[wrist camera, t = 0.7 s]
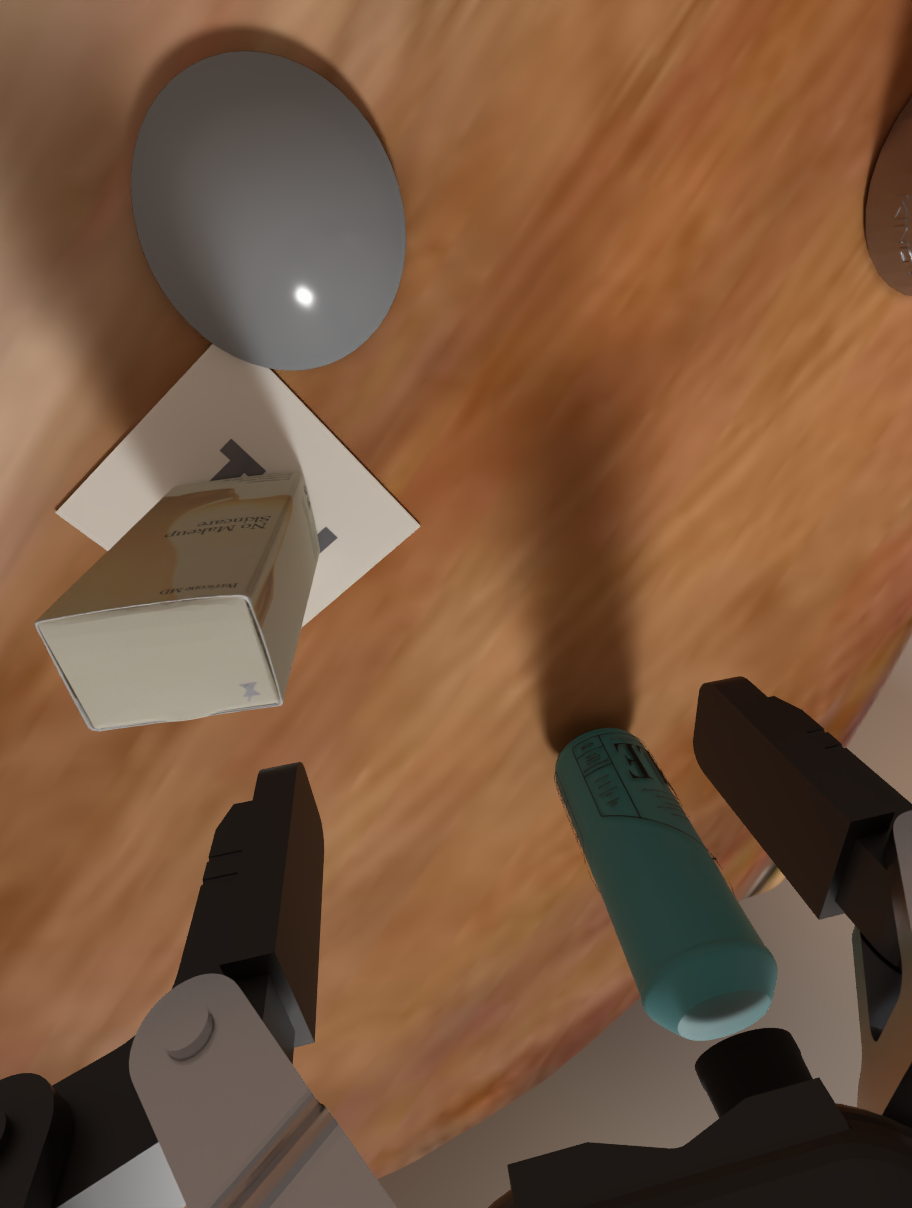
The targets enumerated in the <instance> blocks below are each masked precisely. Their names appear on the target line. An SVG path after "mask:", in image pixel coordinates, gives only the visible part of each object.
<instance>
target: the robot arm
mask: <svg viewBox="0 0 912 1208" xmlns="http://www.w3.org/2000/svg"><path fill="white" fill-rule="evenodd" d="M866 239H867V244H868V249H869V254H870V257H871V259H872V262H873V264H874V266H875V268H876V270H877V272H878V274H879V275H880V276H881V277H882V278H883V279H884V281H885V282H886V283H887V284H888V285H889V286H890V287H892V288H894V289H895V290H897V291H899V292H901V293H903V294H904V295H909V296H912V97H911V99H910V100H909V102H908V103H907V105H906V106H905V108H904V109H903V111H902V112H901V114H900V115H899V117H898V118H897V120H896V121H895V123H894V125H893V127H892V129H891V131H890V133H889V135H888V137H887V139H886V141H885V144H884V146H883V148H882V150H881V152H880V155H879V158H878V161H877V164H876V167H875V170H874V173H873V176H872V179H871V182H870V188H869V194H868V199H867V205H866ZM693 747H694V753H695V756H696V759H697V762H698V764H699V766H700V768H701V770H702V771H703V773H704V774H705V775H706V776H707V778H708V779H709V780H710V782H711V783H712V784H713V785H714V787H715V788H716V789H717V790H718V792H719V793H720V794H721V796H722V797H723V798H724V799H725V801H726V802H727V803H728V804H729V806H730V807H731V808H732V810H733V811H734V812H735V813H736V815H737V816H738V817H739V818H740V820H741V821H742V822H743V824H744V825H745V826H746V827H747V829H748V830H749V831H750V833H751V834H752V835H753V836H754V838H755V839H756V840H757V841H758V843H759V844H760V845H761V847H762V848H763V849H764V850H765V852H766V853H767V854H768V855H769V857H770V858H771V859H772V861H773V862H774V863H775V864H776V866H777V867H778V868H779V869H780V871H781V872H782V873H783V875H784V876H785V877H786V878H787V880H788V881H789V882H790V883H791V885H792V886H793V887H794V889H795V890H796V891H797V892H798V894H799V895H800V896H801V897H802V899H803V900H804V901H805V903H806V904H807V905H808V906H809V908H810V909H811V910H812V911H813V913H814V914H815V915H816V917H817V918H818V919H819V920H820V919H824V918H827V917H832V916H835V915H840V914H843V913H845V914H846V915H847V916H848V917H849V918H850V920H851V921H852V922H853V923H854V924H855V927H854V930H853V933H852V944H853V955H854V966H855V977H856V988H857V999H858V1010H859V1021H860V1032H861V1043H862V1065H861V1073H860V1079H859V1086H858V1100H857V1107H852V1106H847V1105H843V1104H835V1102H834V1101H833V1099H832V1097H831V1096H830V1094H829V1093H828V1091H827V1089H826V1088H825V1086H824V1085H823V1083H822V1081H821V1080H820V1078H815V1079H812V1080H808V1081H805V1082H801V1083H798V1084H794V1085H790V1086H787V1087H783V1088H780V1089H776V1090H773V1091H769V1092H765V1093H762V1094H758V1095H755V1096H751V1097H748V1098H745V1099H744V1100H743V1101H741V1102H740V1103H739V1104H737V1105H736V1106H735V1107H734V1108H732V1109H731V1110H730V1111H728V1112H727V1113H726V1114H725V1115H723V1116H722V1117H721V1118H719V1119H718V1120H717V1121H716V1122H714V1123H713V1124H712V1125H710V1126H709V1127H708V1128H707V1129H706V1130H704V1131H703V1132H701V1133H700V1134H699V1135H698V1136H696V1137H695V1138H694V1139H692V1140H691V1141H690V1142H689V1143H687V1144H686V1145H684V1146H682V1147H679V1148H674V1149H668V1148H655V1147H641V1146H628V1145H616V1144H603V1143H589V1142H587V1143H583V1144H580V1145H576V1146H573V1147H569V1148H566V1149H562V1150H558V1151H555V1152H551V1153H548V1154H544V1155H541V1156H537V1157H533V1158H530V1159H527V1160H523V1161H519V1162H516V1163H512V1164H509V1165H507V1166H508V1172H509V1179H510V1185H511V1190H509V1191H508V1192H507V1193H506V1194H504V1195H503V1196H501V1197H500V1198H499V1199H497V1200H496V1201H495V1202H493V1204H491V1205H490V1207H488V1208H912V804H911V803H910V802H909V801H908V800H906V799H905V798H904V797H903V796H902V795H901V794H899V793H898V792H897V791H896V790H895V789H894V788H892V787H891V786H890V785H889V784H888V783H887V782H885V781H884V780H883V779H882V778H881V777H880V776H878V775H877V774H876V773H875V772H874V771H872V770H871V769H870V768H869V767H868V766H867V765H866V764H864V763H863V762H862V761H861V760H860V759H859V758H857V757H856V756H855V755H854V754H853V753H852V752H850V751H849V750H848V749H847V748H843V747H842V744H841V743H840V742H839V741H838V740H836V739H835V738H834V737H833V736H832V735H831V734H829V733H828V732H827V733H825V732H824V728H822V727H821V726H820V725H819V724H818V723H817V722H815V721H814V720H813V719H812V718H811V717H810V716H808V715H807V714H806V713H805V712H804V711H803V710H801V709H799V708H797V707H795V706H793V705H791V704H789V703H787V702H785V701H783V700H781V699H779V698H777V697H775V696H772V697H767V696H766V695H765V694H763V693H762V692H761V691H760V690H759V689H758V688H757V687H756V686H755V685H753V684H752V683H751V682H750V681H749V680H748V679H746V678H744V677H734V678H729V679H723V680H718V681H713V682H708V683H704V684H703V685H702V686H701V688H700V690H699V697H698V705H697V713H696V721H695V729H694V737H693ZM323 863H324V838H323V829H322V823H321V819H320V815H319V812H318V809H317V806H316V803H315V799H314V796H313V793H312V790H311V787H310V784H309V780H308V777H307V774H306V771H305V768H304V766H303V764H302V763H301V762H297V763H292V764H287V765H282V766H277V767H272V768H267V769H262V770H260V772H259V774H258V777H257V782H256V787H255V791H254V796H253V801H248V802H243V803H238V804H234V805H233V806H232V807H231V809H230V810H229V812H228V813H227V815H226V816H225V817H224V819H223V820H222V822H221V823H220V825H219V826H218V827H217V829H216V831H215V835H214V839H213V842H212V846H211V850H210V854H209V862H207V865H206V869H205V872H204V876H203V885H201V887H200V891H199V895H198V899H197V903H196V906H195V910H194V914H193V918H192V921H191V925H190V929H189V933H188V936H187V940H186V944H185V948H184V951H183V955H182V959H181V963H180V967H179V970H178V974H177V977H176V980H175V983H174V985H173V987H172V989H171V990H170V991H169V992H168V993H167V994H166V995H164V996H163V997H162V998H161V999H160V1000H159V1001H158V1002H157V1003H156V1004H155V1006H154V1007H153V1008H152V1009H151V1010H150V1012H149V1013H148V1014H147V1016H146V1017H145V1019H144V1020H143V1022H142V1024H141V1025H140V1027H139V1029H138V1031H137V1033H136V1035H135V1036H134V1037H133V1038H131V1039H130V1040H129V1041H127V1042H126V1043H125V1044H123V1045H122V1046H120V1047H119V1048H117V1049H115V1050H114V1051H112V1052H110V1053H109V1054H107V1055H105V1056H103V1057H102V1058H100V1059H98V1060H96V1061H95V1062H93V1063H91V1064H89V1065H88V1066H86V1067H84V1068H82V1069H81V1070H79V1071H77V1072H75V1073H74V1074H72V1075H70V1076H68V1077H67V1078H65V1079H63V1080H61V1081H60V1082H58V1083H56V1084H54V1085H53V1086H51V1084H50V1083H49V1082H48V1081H47V1080H46V1079H44V1078H43V1077H41V1076H40V1075H37V1074H33V1073H21V1074H17V1075H12V1076H9V1077H7V1078H4V1079H2V1080H0V1208H183V1207H185V1206H186V1205H187V1208H396V1206H395V1205H394V1203H393V1202H392V1201H391V1199H390V1197H389V1196H388V1195H387V1193H386V1192H385V1191H384V1189H383V1187H382V1186H381V1184H380V1183H379V1182H378V1180H377V1179H376V1177H375V1176H374V1174H373V1173H372V1171H371V1170H370V1169H369V1167H368V1166H367V1164H366V1163H365V1161H364V1160H363V1159H362V1157H361V1156H360V1154H359V1153H358V1151H357V1150H356V1148H355V1147H354V1146H353V1144H352V1143H351V1141H350V1140H349V1138H348V1137H347V1135H346V1134H345V1133H344V1131H343V1130H342V1128H341V1127H340V1125H339V1124H338V1123H337V1121H336V1120H335V1119H334V1117H333V1116H332V1115H331V1113H330V1112H329V1111H328V1110H327V1108H326V1107H325V1106H324V1105H323V1104H320V1103H319V1102H318V1100H317V1099H316V1098H315V1097H314V1095H313V1094H312V1092H311V1091H310V1089H309V1088H308V1087H307V1085H306V1084H305V1082H304V1081H303V1079H302V1078H301V1076H300V1075H299V1073H298V1072H297V1071H296V1069H295V1068H294V1066H293V1065H292V1064H293V1051H294V1047H298V1046H302V1045H306V1044H310V1043H314V1042H315V1023H316V1003H317V983H318V963H319V943H320V923H321V903H322V883H323Z"/></svg>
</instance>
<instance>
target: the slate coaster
mask: <svg viewBox="0 0 912 1208" xmlns="http://www.w3.org/2000/svg"><path fill="white" fill-rule="evenodd" d="M131 197H132V207H133V215H134V220H135V224H136V229H137V234H138V237H139V240H140V243H141V246H142V249H143V252H144V255H145V257H146V259H147V262H148V264H149V266H150V268H151V271H152V273H153V275H154V277H155V278H156V280H157V282H158V283H159V285H160V287H161V289H162V290H163V292H164V294H165V295H166V296H167V298H168V299H169V300H170V302H171V303H172V305H173V306H174V307H175V309H176V310H177V311H178V312H179V313H180V314H181V315H182V317H183V318H184V319H185V320H186V321H187V322H188V323H189V324H190V325H191V326H192V327H193V328H194V329H195V330H196V331H198V332H199V333H200V334H201V335H202V336H203V337H204V338H206V339H207V340H208V341H210V342H211V343H213V344H214V345H215V346H217V347H218V348H220V349H222V350H223V351H225V352H227V353H229V354H230V355H232V356H234V357H236V358H239V359H241V360H244V361H246V362H248V363H251V364H254V365H258V366H262V367H265V368H271V369H278V370H305V369H313V368H317V367H320V366H324V365H328V364H330V363H332V362H335V361H337V360H339V359H341V358H343V357H345V356H346V355H348V354H350V353H351V352H353V351H354V350H356V349H357V348H358V347H359V346H360V345H362V344H363V343H364V342H365V341H366V340H367V339H368V338H369V337H370V336H371V335H372V334H373V333H374V331H375V330H376V329H377V328H378V327H379V325H380V324H381V322H382V321H383V319H384V318H385V316H386V315H387V313H388V311H389V309H390V307H391V304H392V302H393V300H394V298H395V295H396V292H397V289H398V287H399V284H400V280H401V275H402V270H403V266H404V258H405V247H406V232H405V218H404V210H403V203H402V199H401V195H400V190H399V186H398V182H397V180H396V177H395V174H394V171H393V168H392V165H391V163H390V161H389V158H388V156H387V154H386V152H385V150H384V148H383V146H382V144H381V142H380V140H379V139H378V137H377V135H376V134H375V132H374V131H373V129H372V127H371V126H370V124H369V123H368V121H367V120H366V119H365V118H364V116H363V115H362V114H361V112H360V111H359V110H358V109H357V107H356V106H355V105H354V104H353V103H352V102H351V101H350V100H349V99H348V98H347V97H346V96H345V95H344V94H343V93H342V92H341V91H340V90H339V89H337V88H336V87H335V86H334V85H332V84H331V83H330V82H329V81H327V80H326V79H325V78H324V77H322V76H320V75H319V74H317V73H315V72H314V71H312V70H310V69H309V68H307V67H305V66H304V65H301V64H299V63H296V62H294V61H292V60H289V59H287V58H284V57H280V56H276V55H272V54H268V53H264V52H252V51H238V52H227V53H222V54H218V55H215V56H211V57H208V58H205V59H203V60H201V61H199V62H197V63H195V64H193V65H191V66H189V67H187V68H186V69H185V70H183V71H182V72H181V73H179V74H178V75H177V76H175V77H174V78H173V79H172V80H171V81H170V82H169V83H168V84H167V85H166V86H165V87H164V89H163V90H162V91H161V92H160V93H159V94H158V96H157V97H156V99H155V100H154V102H153V104H152V105H151V107H150V108H149V110H148V112H147V114H146V116H145V119H144V121H143V123H142V125H141V127H140V130H139V134H138V137H137V141H136V144H135V148H134V154H133V161H132V168H131Z"/></svg>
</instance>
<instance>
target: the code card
mask: <svg viewBox="0 0 912 1208" xmlns="http://www.w3.org/2000/svg"><path fill="white" fill-rule="evenodd" d="M292 472H300V473H302V474H303V476H304V480H305V484H306V487H307V491H308V495H309V498H310V503H311V507H312V511H313V516H314V521H315V526H316V531H317V536H318V541H319V546H320V554H319V557H318V562H317V566H316V570H315V574H314V577H313V582H312V586H311V590H310V594H309V598H308V602H307V606H306V610H305V615H304V619H303V623H302V627H303V626H304V625H305V624H307V623H308V622H309V621H310V620H311V619H312V618H314V617H315V616H316V615H317V614H318V613H319V612H321V611H322V610H323V609H324V608H325V607H327V606H328V605H329V604H330V603H331V602H332V601H334V600H335V599H336V598H337V597H338V596H339V595H341V594H342V593H343V592H344V591H345V590H346V589H348V588H349V587H350V586H351V585H352V584H353V583H355V582H356V581H357V580H358V579H359V578H361V577H362V576H363V575H364V574H365V573H366V572H368V571H369V570H370V569H371V568H372V567H373V566H375V565H376V564H377V563H378V562H379V561H380V560H382V559H383V558H384V557H385V556H386V555H387V554H389V553H390V552H391V551H392V550H393V549H395V548H396V547H397V546H398V545H399V544H400V543H402V542H403V541H404V540H405V539H406V538H407V537H409V536H410V535H411V534H412V533H413V532H414V531H416V530H417V529H418V528H419V527H420V525H419V524H418V522H417V521H416V520H415V519H414V518H413V517H412V516H411V515H410V514H409V513H408V512H407V511H406V510H405V509H404V508H403V507H402V506H401V505H400V504H399V503H398V502H397V501H396V500H395V498H394V497H393V496H392V495H391V494H390V493H389V492H388V491H387V490H386V489H385V488H384V487H383V486H382V485H381V484H380V483H379V482H378V481H377V480H376V479H375V478H374V477H373V476H372V475H371V473H370V472H369V471H368V470H367V469H366V468H365V467H364V466H363V465H362V464H361V463H360V462H359V461H358V460H357V459H356V458H355V457H354V456H353V455H352V454H351V453H350V452H349V451H348V450H347V448H346V447H345V446H344V445H343V444H342V443H341V442H340V441H339V440H338V439H337V438H336V437H335V436H334V435H333V434H332V433H331V432H330V431H329V430H328V429H327V428H326V427H325V426H324V424H323V423H322V422H321V421H320V420H319V419H318V418H317V417H316V416H315V415H314V414H313V413H312V412H311V411H310V410H309V409H308V408H307V407H306V406H305V405H304V404H303V403H302V402H301V401H300V399H299V398H298V397H297V396H296V395H295V394H294V393H293V392H292V391H291V390H290V389H289V388H288V387H287V386H286V385H285V384H284V383H283V382H282V381H281V380H280V379H279V378H278V377H277V375H276V374H275V373H274V372H273V371H272V370H271V369H270V368H265V367H262V366H258V365H254V364H251V363H248V362H246V361H244V360H241V359H239V358H236V357H234V356H232V355H230V354H229V353H227V352H225V351H223V350H222V349H220V348H218V347H217V346H215V345H214V344H212V345H211V346H210V347H209V348H208V349H207V350H206V351H205V353H204V354H203V355H202V356H201V357H200V358H199V359H198V360H197V361H196V362H195V363H194V364H193V365H192V367H191V368H190V369H189V370H188V371H187V372H186V373H185V374H184V375H183V376H182V377H181V378H180V379H179V380H178V382H177V383H176V384H175V385H174V386H173V387H172V388H171V389H170V390H169V391H168V392H167V393H166V394H165V396H164V397H163V398H162V399H161V400H160V401H159V402H158V403H157V404H156V405H155V406H154V407H153V408H152V409H151V411H150V412H149V413H148V414H147V415H146V416H145V417H144V418H143V419H142V420H141V421H140V422H139V423H138V425H137V426H136V427H135V428H134V429H133V430H132V431H131V432H130V433H129V434H128V435H127V436H126V437H125V439H124V440H123V441H122V442H121V443H120V444H119V445H118V446H117V447H116V448H115V449H114V450H113V451H112V452H111V454H110V455H109V456H108V457H107V458H106V459H105V460H104V461H103V462H102V463H101V464H100V465H99V466H98V468H97V469H96V470H95V471H94V472H93V473H92V474H91V475H90V476H89V477H88V478H87V479H86V480H85V481H84V483H83V484H82V485H81V486H80V487H79V488H78V489H77V490H76V491H75V492H74V493H73V494H72V495H71V497H70V498H69V499H68V500H67V501H66V502H65V503H64V504H63V505H62V506H61V507H60V508H59V509H58V511H57V512H56V514H58V515H59V516H60V517H62V518H63V519H64V520H66V521H67V522H69V523H70V524H71V525H73V526H74V527H75V528H77V529H78V530H80V531H81V532H82V533H84V534H85V535H86V536H88V537H89V538H91V539H92V540H93V541H95V542H96V543H97V544H99V545H100V546H102V547H103V548H104V549H106V550H107V551H109V550H110V549H111V548H112V547H113V546H114V545H115V544H116V543H117V542H118V541H119V540H120V539H121V538H122V537H123V536H124V535H125V534H126V533H127V532H128V531H129V530H130V529H131V528H132V527H133V526H134V525H135V524H136V523H137V522H138V521H139V520H140V519H141V518H142V517H144V515H145V514H147V513H148V512H149V511H150V510H151V509H152V508H153V507H154V506H155V505H156V504H157V503H158V502H159V501H160V500H161V499H162V498H163V497H164V496H165V495H166V494H167V493H168V492H169V491H170V490H171V489H172V488H173V487H176V486H181V485H188V484H195V483H201V482H208V481H215V480H222V479H229V478H238V477H246V476H256V475H266V474H278V473H292ZM302 627H301V628H302Z"/></svg>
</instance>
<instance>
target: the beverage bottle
mask: <svg viewBox="0 0 912 1208" xmlns="http://www.w3.org/2000/svg"><path fill="white" fill-rule="evenodd" d="M639 740H640V739H639ZM639 740H638V739H637V737H635V736H633V735H632V734H631V733H629V732H627V731H625V730H622V729H618V728H601V729H596V730H592V731H589V732H587V733H584V734H582V735H580V736H578V737H577V738H575V739H574V740H572V741H571V742H570V743H569V744H568V745H567V746H566V747H565V748H564V749H563V750H562V752H561V753H560V755H559V756H558V759H557V762H556V767H555V773H556V774H555V775H556V781H557V782H556V787H557V785H558V787H559V789H558V788H557V790H560V793H561V796H560V798H561V797H562V800H561V801H564V803H565V805H566V808H567V810H568V813H569V815H570V818H571V821H572V823H573V826H574V827H573V828H575V831H576V833H577V840H578V838H579V841H580V844H581V845H580V847H581V846H582V849H583V852H584V854H585V856H586V859H587V861H588V864H589V867H590V869H591V872H592V874H593V877H594V879H595V881H596V883H597V886H598V888H599V890H600V891H599V892H600V893H601V895H602V898H603V900H604V903H605V905H606V908H607V910H608V913H609V916H610V918H611V921H612V923H613V926H614V928H615V931H616V934H617V936H618V939H619V941H620V944H621V946H622V949H623V952H624V954H625V957H626V959H627V962H628V964H629V967H630V970H631V972H632V975H633V977H634V980H635V982H636V985H637V988H638V990H639V993H640V995H641V1001H642V1005H643V1007H644V1010H645V1012H646V1013H647V1014H648V1016H649V1017H650V1018H651V1019H652V1020H654V1021H655V1022H657V1023H658V1024H659V1025H661V1026H662V1027H664V1028H666V1029H668V1030H670V1031H672V1032H674V1033H676V1034H678V1035H680V1036H682V1037H684V1038H686V1039H690V1040H695V1041H700V1040H701V1041H702V1040H711V1039H717V1038H720V1037H724V1036H728V1035H730V1034H733V1033H736V1032H738V1031H741V1030H743V1029H745V1028H747V1027H749V1026H750V1025H752V1024H753V1023H755V1022H756V1021H758V1020H759V1019H760V1018H761V1017H762V1016H763V1015H764V1014H765V1013H766V1012H767V1011H768V1008H769V1007H770V1004H771V1001H772V998H773V995H774V990H775V985H776V980H777V964H776V961H775V959H774V957H773V955H772V954H771V952H770V951H769V950H768V948H767V947H766V946H765V945H764V943H763V942H762V940H761V939H760V937H759V935H758V934H757V932H756V930H755V929H754V927H753V926H752V924H751V922H750V921H749V919H748V917H747V916H746V914H745V913H744V911H743V909H742V908H741V906H740V904H739V903H738V901H737V900H736V898H735V895H733V893H734V892H733V893H732V891H731V890H730V888H729V887H728V885H727V883H726V881H725V879H724V877H723V876H722V874H721V872H720V870H719V869H718V867H717V865H716V864H715V862H714V860H713V859H715V860H717V859H716V858H715V857H714V856H713V855H712V854H711V855H712V856H713V857H714V858H712V857H711V855H710V854H709V852H708V851H707V849H706V847H705V846H704V844H703V842H702V841H701V839H700V837H699V836H698V834H697V833H696V831H695V829H694V828H693V826H692V824H691V823H690V821H689V819H688V818H687V816H686V815H685V813H684V811H683V809H682V808H681V806H682V805H681V806H680V805H679V802H677V800H676V798H677V797H676V798H675V797H674V795H673V793H672V792H671V790H670V788H669V787H668V785H670V783H667V782H668V781H667V780H665V779H667V778H665V777H664V775H663V774H664V773H662V770H661V771H660V769H659V768H658V766H659V765H658V766H657V764H655V762H654V760H655V759H654V760H653V758H654V757H653V758H652V757H651V755H652V754H651V753H650V752H648V751H647V750H646V749H645V748H644V746H643V745H644V744H642V743H641V742H640V741H639ZM642 742H643V741H642ZM643 743H644V742H643ZM645 747H646V746H645ZM648 750H649V749H648ZM649 753H650V754H651V755H650V754H649ZM656 763H657V762H656ZM554 781H555V776H554ZM670 787H671V785H670ZM671 788H672V787H671ZM672 790H673V788H672ZM673 791H674V790H673ZM560 793H558V794H560ZM674 793H675V792H674ZM675 794H676V793H675ZM676 796H677V795H676ZM677 799H678V798H677ZM678 800H679V799H678ZM679 801H680V800H679ZM562 804H563V803H562ZM682 807H683V806H682ZM564 809H565V808H564ZM567 817H568V816H567ZM571 821H570V819H569V822H570V823H571ZM572 823H571V824H572ZM572 830H573V829H572ZM573 832H574V831H573ZM574 835H575V834H574ZM580 847H579V848H580ZM581 854H582V853H581ZM584 858H585V857H584ZM584 861H585V860H584ZM585 863H586V862H585ZM717 863H718V862H717ZM720 867H721V866H720ZM589 874H590V873H589ZM591 879H592V878H591ZM592 881H593V880H592ZM730 885H731V884H730ZM595 886H596V885H595ZM598 888H597V889H598ZM732 890H733V889H732ZM695 1070H696V1072H697V1075H698V1077H699V1079H700V1082H701V1084H702V1086H703V1088H704V1089H705V1091H706V1092H707V1094H708V1096H709V1098H710V1100H711V1102H712V1104H713V1106H714V1108H715V1110H716V1112H717V1114H718V1117H719V1118H721V1117H722V1116H723V1115H725V1114H726V1113H727V1112H728V1111H730V1110H731V1109H732V1108H734V1107H735V1106H736V1105H737V1104H739V1103H740V1102H741V1101H743V1100H744V1099H745V1098H748V1097H751V1096H755V1095H758V1094H762V1093H765V1092H769V1091H773V1090H776V1089H780V1088H783V1087H787V1086H790V1085H794V1084H798V1083H801V1082H805V1081H808V1080H812V1077H811V1075H810V1073H809V1070H808V1068H807V1066H806V1065H805V1062H804V1060H803V1058H802V1056H801V1052H800V1050H799V1048H798V1046H797V1044H796V1042H795V1040H794V1039H793V1037H792V1035H791V1034H790V1033H789V1032H788V1031H786V1030H783V1029H779V1028H762V1029H755V1030H751V1031H747V1032H743V1033H740V1034H737V1035H734V1036H732V1037H729V1038H727V1039H725V1040H723V1041H721V1042H719V1043H717V1044H716V1045H713V1046H712V1047H711V1048H709V1049H708V1050H706V1051H705V1052H704V1053H703V1054H702V1055H701V1056H700V1057H699V1058H698V1060H697V1061H696V1064H695Z"/></svg>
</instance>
